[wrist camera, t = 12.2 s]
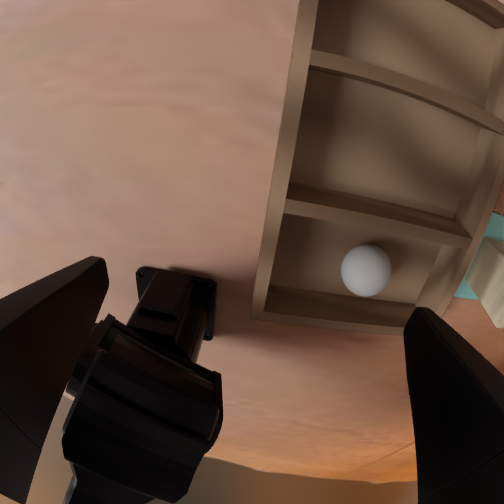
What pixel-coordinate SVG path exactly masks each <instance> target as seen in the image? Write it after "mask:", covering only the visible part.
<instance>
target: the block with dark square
mask: <svg viewBox="0 0 504 504" xmlns="http://www.w3.org/2000/svg"><path fill="white" fill-rule="evenodd" d="M464 279H465V280H466V281H467V283H468V284H469V286H470V287H471V289H472V290H473V292H474V293H475V295H476V296H477V298H478V299H479V301H480V302H481V304H482V305H483V307H484V308H485V310H486V312H487V313H488V315H489V316H490V318H491V320H492V321H493V323H494V325H495V326H496V328H504V242H502V241H499V240H495V239H492V238H489V237H485V236H484V237H483V240H482V242H481V244H480V247H479V249H478V251H477V253H476V255H475V257H474V260H473V262H472V264H471V266H470V268H469V270H468V272H467V274H466V276H465V278H464Z"/></svg>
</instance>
